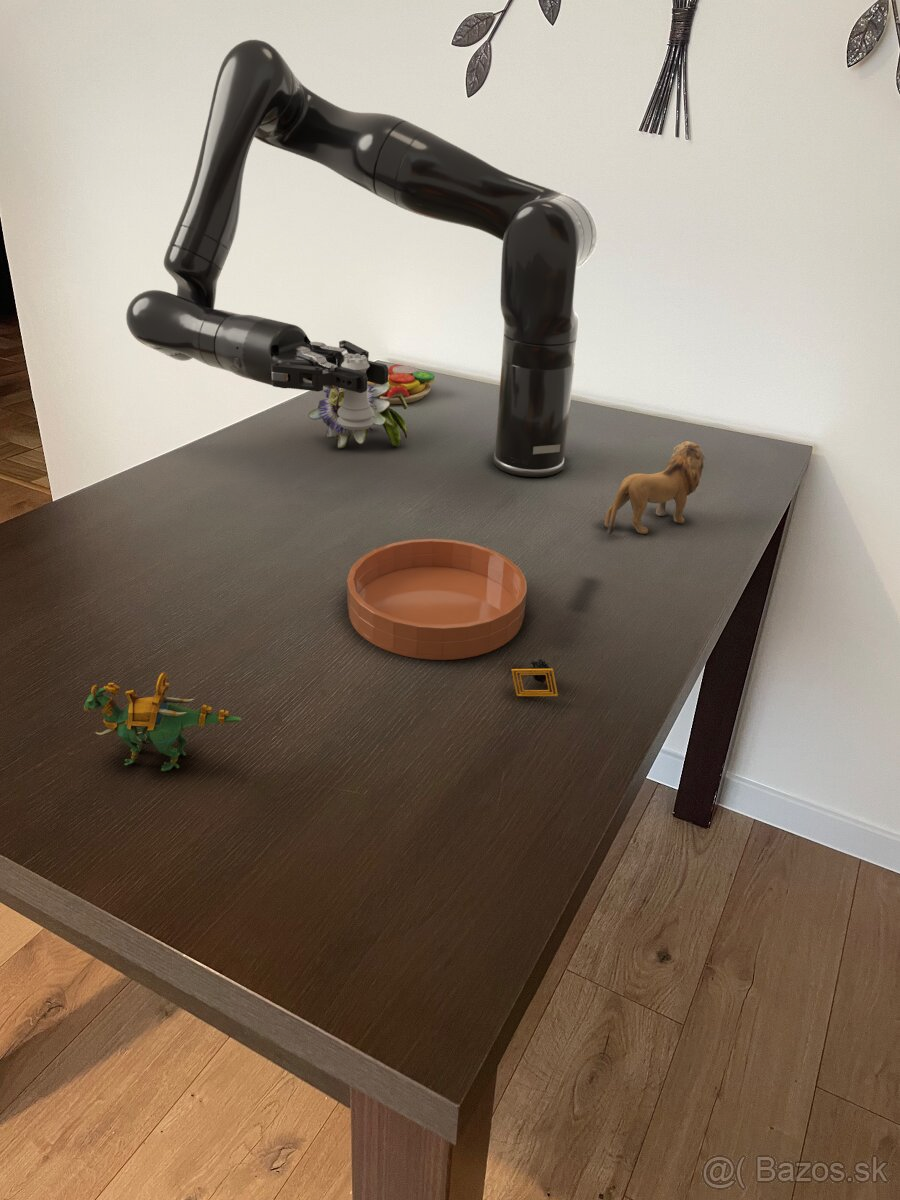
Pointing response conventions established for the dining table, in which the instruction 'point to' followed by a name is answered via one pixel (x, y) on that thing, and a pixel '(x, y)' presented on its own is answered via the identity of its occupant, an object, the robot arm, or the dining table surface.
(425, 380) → the toy food set
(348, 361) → the rook chess piece
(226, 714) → the figurine
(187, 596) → the dining table surface
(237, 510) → the dining table surface
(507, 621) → the pan
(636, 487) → the lion figurine
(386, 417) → the passion flower
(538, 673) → the golden picture frame
